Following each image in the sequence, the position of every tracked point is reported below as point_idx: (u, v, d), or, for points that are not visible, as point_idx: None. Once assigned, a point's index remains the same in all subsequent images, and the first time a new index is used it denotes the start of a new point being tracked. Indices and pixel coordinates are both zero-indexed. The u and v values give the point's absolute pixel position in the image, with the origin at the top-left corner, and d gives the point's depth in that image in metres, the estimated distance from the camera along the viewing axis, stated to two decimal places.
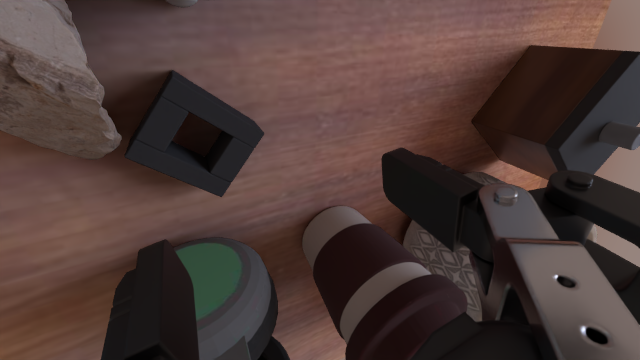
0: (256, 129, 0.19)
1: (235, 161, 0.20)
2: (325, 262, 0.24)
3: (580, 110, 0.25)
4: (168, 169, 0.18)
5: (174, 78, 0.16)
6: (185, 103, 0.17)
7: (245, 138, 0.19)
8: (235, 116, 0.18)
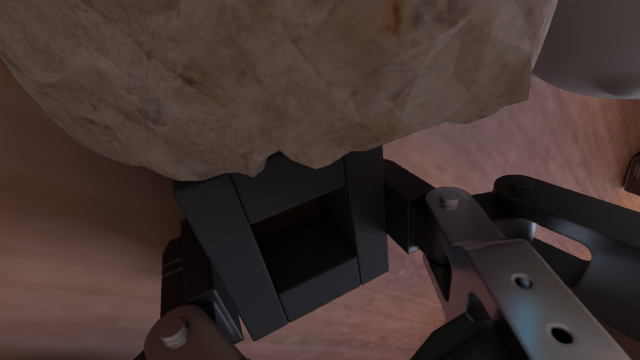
0: (387, 260, 0.11)
1: (325, 292, 0.10)
2: None
3: None
4: (225, 258, 0.08)
5: None
6: (356, 170, 0.08)
7: (366, 266, 0.11)
8: (385, 229, 0.10)
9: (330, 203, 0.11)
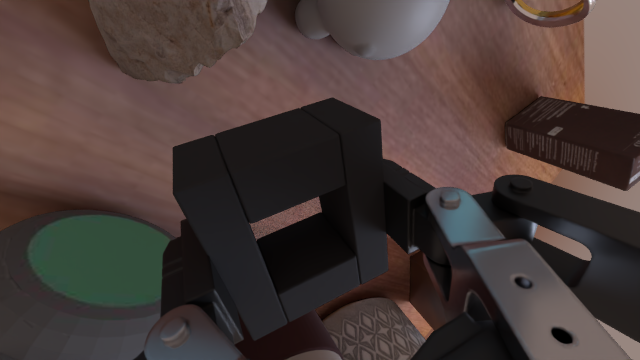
0: (386, 260, 0.11)
1: (324, 292, 0.10)
2: None
3: None
4: (225, 258, 0.08)
5: (379, 124, 0.08)
6: (355, 169, 0.08)
7: (366, 265, 0.11)
8: (385, 228, 0.10)
9: (330, 203, 0.11)
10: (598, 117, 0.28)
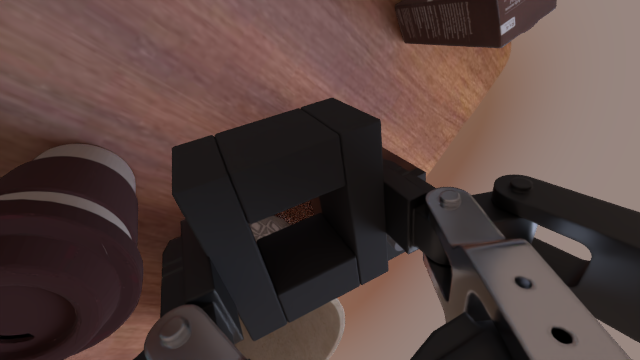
0: (386, 260, 0.11)
1: (324, 293, 0.10)
2: (15, 170, 0.18)
3: None
4: (225, 258, 0.08)
5: (379, 124, 0.08)
6: (355, 170, 0.08)
7: (366, 266, 0.11)
8: (385, 229, 0.10)
9: (330, 203, 0.11)
10: None
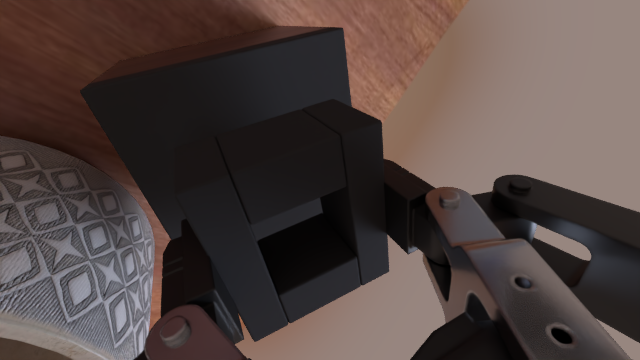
0: (387, 261, 0.11)
1: (325, 293, 0.10)
2: None
3: (197, 59, 0.11)
4: (226, 259, 0.08)
5: (380, 125, 0.08)
6: (356, 171, 0.08)
7: (366, 266, 0.11)
8: (385, 230, 0.10)
9: (330, 204, 0.11)
10: None
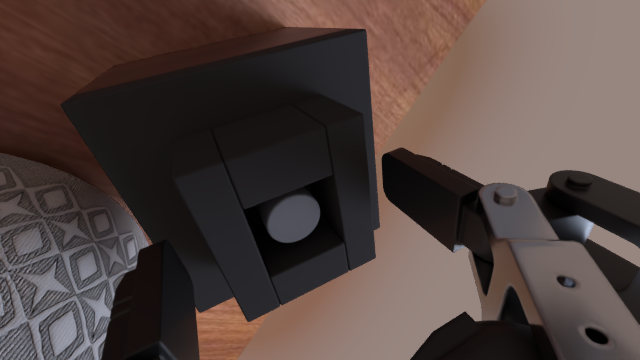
0: (373, 247, 0.12)
1: (314, 277, 0.11)
2: None
3: (199, 66, 0.10)
4: (221, 241, 0.08)
5: (362, 118, 0.09)
6: (341, 160, 0.09)
7: (353, 252, 0.11)
8: (371, 217, 0.11)
9: (320, 194, 0.11)
10: None
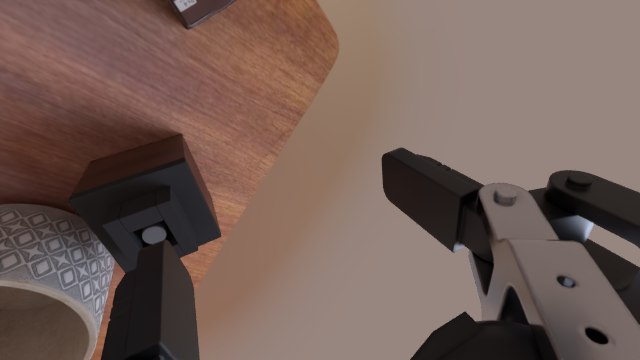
0: (195, 246, 0.29)
1: None
2: None
3: (118, 180, 0.26)
4: (121, 243, 0.25)
5: (170, 201, 0.26)
6: (165, 215, 0.26)
7: (184, 247, 0.28)
8: (188, 234, 0.28)
9: None
10: None
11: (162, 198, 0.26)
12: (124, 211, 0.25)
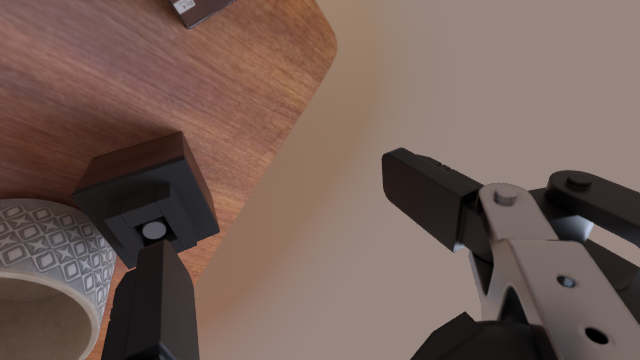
0: (194, 241, 0.29)
1: None
2: None
3: (119, 177, 0.27)
4: (122, 238, 0.26)
5: (170, 197, 0.26)
6: (165, 211, 0.27)
7: (183, 242, 0.29)
8: (187, 229, 0.29)
9: None
10: None
11: (162, 194, 0.27)
12: (125, 207, 0.26)
